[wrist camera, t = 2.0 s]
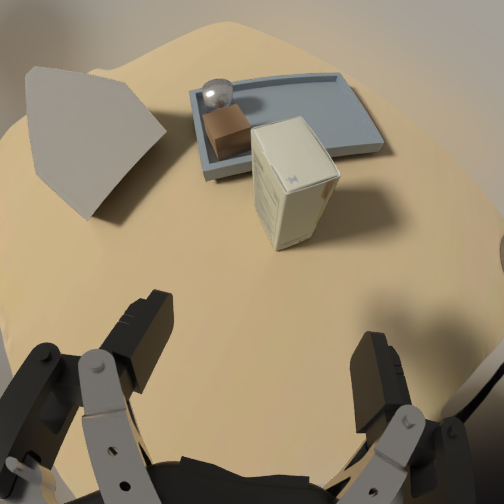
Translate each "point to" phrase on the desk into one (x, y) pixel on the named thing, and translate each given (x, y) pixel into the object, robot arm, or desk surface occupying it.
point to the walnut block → (228, 131)
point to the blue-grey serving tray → (292, 116)
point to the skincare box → (290, 180)
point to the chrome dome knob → (217, 94)
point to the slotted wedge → (85, 133)
